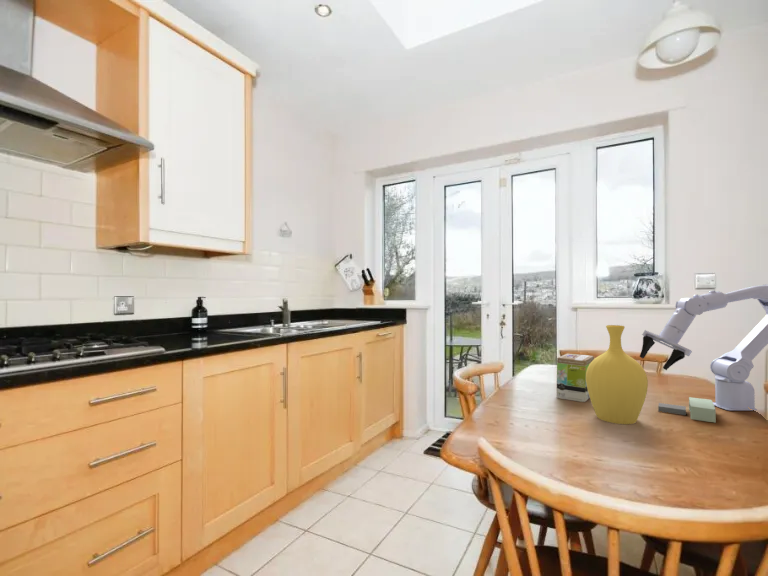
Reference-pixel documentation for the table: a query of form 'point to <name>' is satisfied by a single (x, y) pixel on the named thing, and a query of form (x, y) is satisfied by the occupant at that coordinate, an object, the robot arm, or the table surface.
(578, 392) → the tea box
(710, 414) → the pale green block
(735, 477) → the table surface
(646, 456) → the table surface
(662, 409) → the gray block
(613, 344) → the vase
